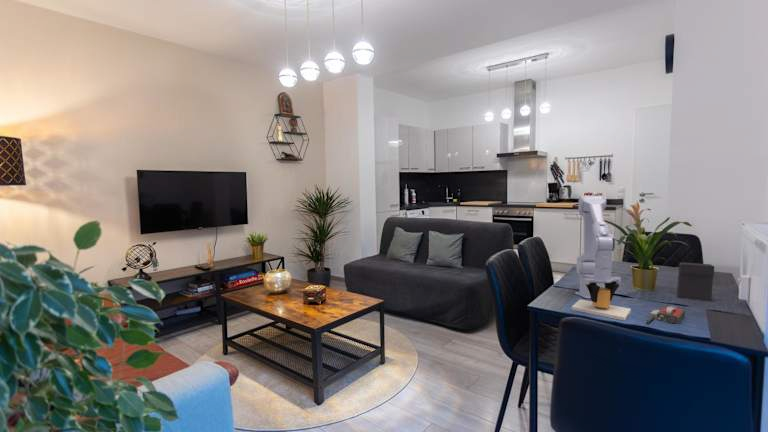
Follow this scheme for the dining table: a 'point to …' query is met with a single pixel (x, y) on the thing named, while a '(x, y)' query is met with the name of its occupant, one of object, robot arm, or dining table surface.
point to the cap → (603, 298)
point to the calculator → (695, 281)
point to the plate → (602, 310)
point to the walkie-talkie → (668, 314)
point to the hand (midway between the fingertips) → (601, 301)
